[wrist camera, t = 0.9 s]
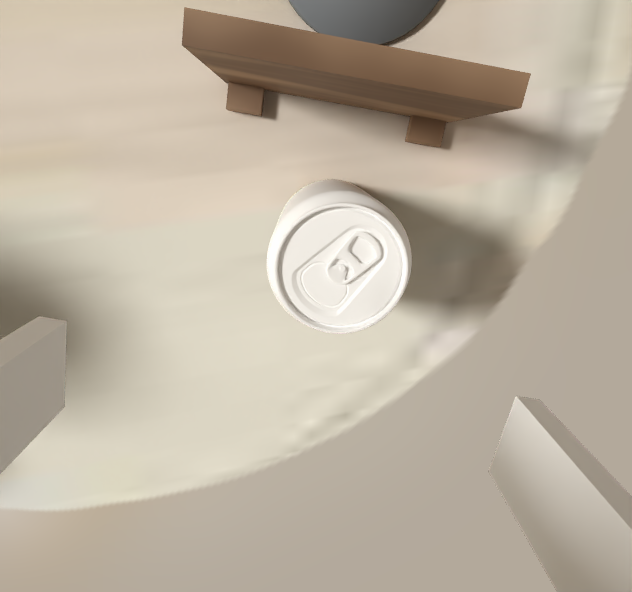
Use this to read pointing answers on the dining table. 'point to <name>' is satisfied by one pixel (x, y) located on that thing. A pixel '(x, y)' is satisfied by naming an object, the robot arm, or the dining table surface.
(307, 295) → the beverage can
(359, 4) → the pad
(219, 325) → the dining table surface
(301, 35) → the screen
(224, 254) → the dining table surface
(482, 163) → the dining table surface
